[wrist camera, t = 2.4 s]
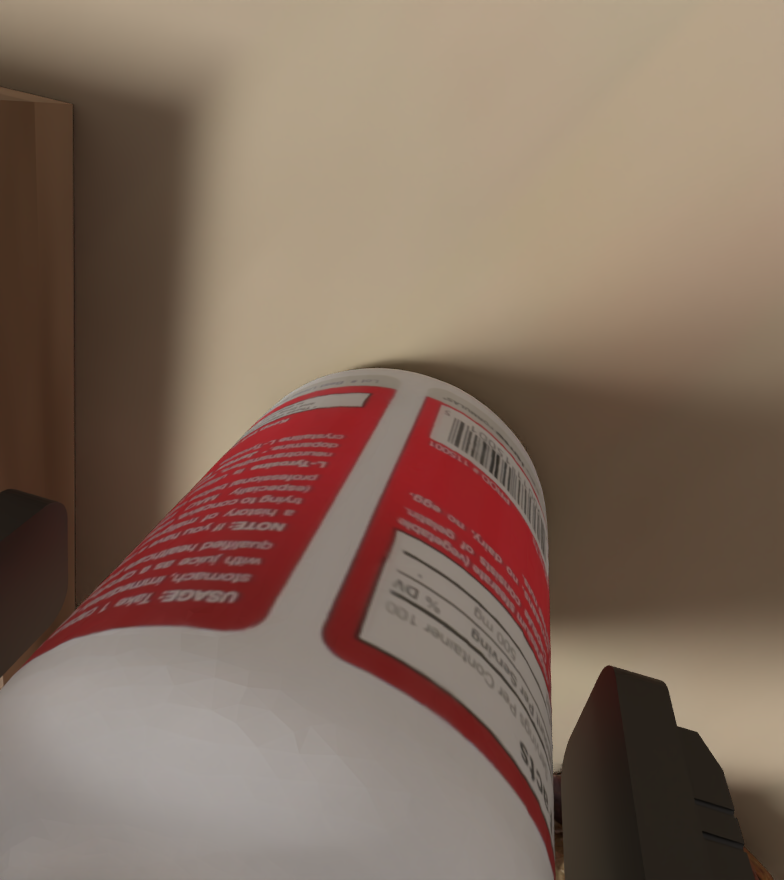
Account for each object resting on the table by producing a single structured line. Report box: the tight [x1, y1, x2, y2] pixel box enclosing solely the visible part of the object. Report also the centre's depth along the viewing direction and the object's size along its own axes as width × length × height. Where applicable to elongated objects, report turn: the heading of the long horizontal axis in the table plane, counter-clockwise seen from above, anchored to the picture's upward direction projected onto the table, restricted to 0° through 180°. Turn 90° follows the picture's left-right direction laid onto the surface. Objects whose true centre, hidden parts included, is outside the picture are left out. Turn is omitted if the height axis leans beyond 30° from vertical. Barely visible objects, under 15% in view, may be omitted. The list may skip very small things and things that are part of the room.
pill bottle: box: [0, 368, 556, 880], centre depth 9 cm, size 6×6×11 cm
